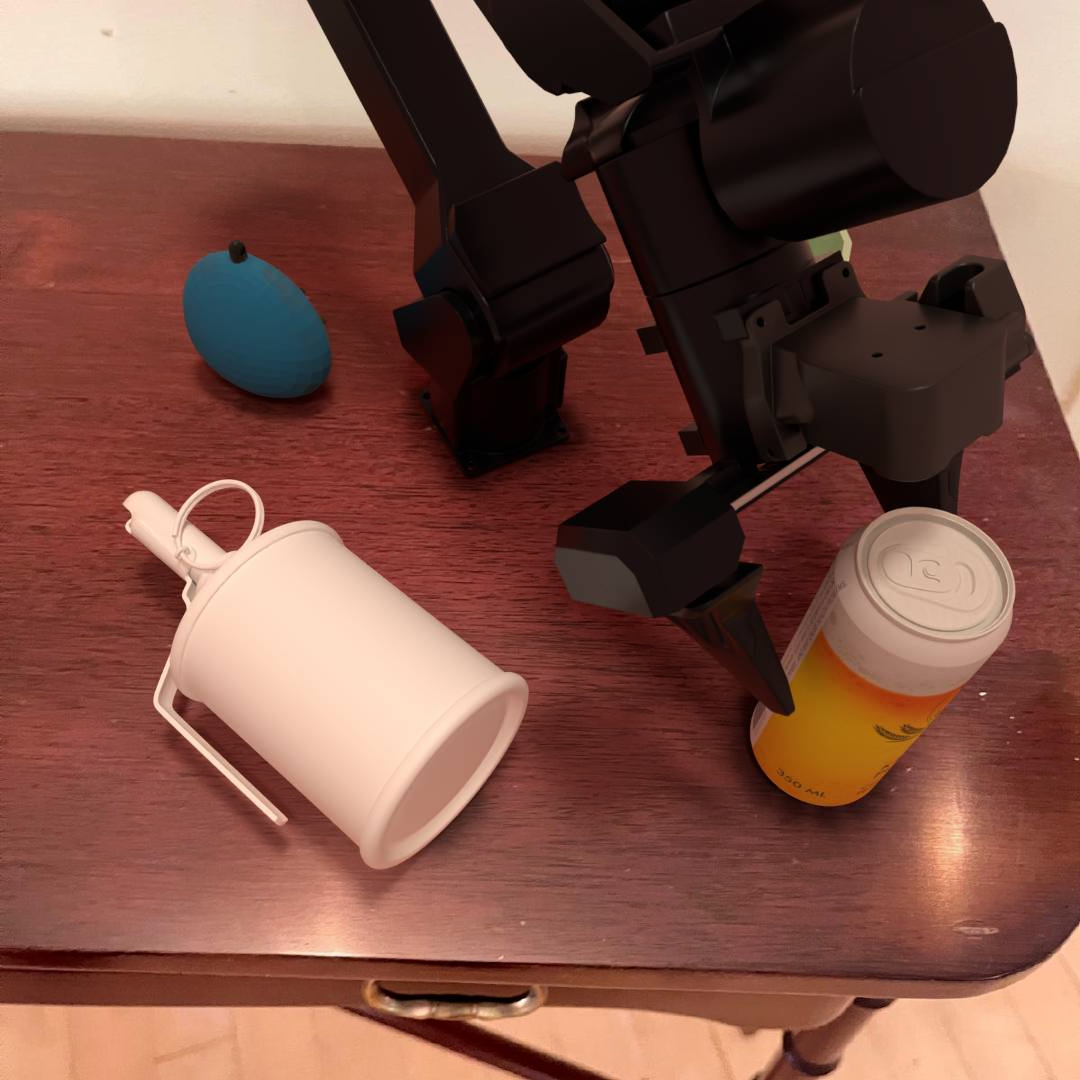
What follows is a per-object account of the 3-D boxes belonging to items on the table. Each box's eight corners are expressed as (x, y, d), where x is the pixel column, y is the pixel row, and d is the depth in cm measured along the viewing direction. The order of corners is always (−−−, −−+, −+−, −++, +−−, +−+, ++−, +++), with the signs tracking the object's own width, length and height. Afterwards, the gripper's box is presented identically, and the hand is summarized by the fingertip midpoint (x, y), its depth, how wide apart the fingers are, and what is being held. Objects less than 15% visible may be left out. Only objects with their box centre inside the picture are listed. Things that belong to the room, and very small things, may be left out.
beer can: (878, 826, 44) (1035, 667, 32) (740, 796, 44) (842, 628, 32) (879, 702, 47) (1021, 515, 35) (751, 675, 48) (847, 482, 36)
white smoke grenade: (547, 705, 45) (246, 468, 51) (508, 656, 36) (153, 379, 43) (393, 901, 43) (101, 629, 49) (313, 898, 34) (-27, 569, 41)
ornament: (356, 376, 58) (336, 234, 49) (319, 433, 55) (291, 293, 47) (226, 337, 59) (186, 191, 51) (184, 391, 56) (135, 246, 48)
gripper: (657, 354, 24) (864, 867, 28) (1104, 102, 31) (1213, 542, 35) (466, 387, 34) (641, 764, 38) (839, 189, 41) (950, 526, 45)
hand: (865, 646), depth 39 cm, fingers open, 9 cm apart
